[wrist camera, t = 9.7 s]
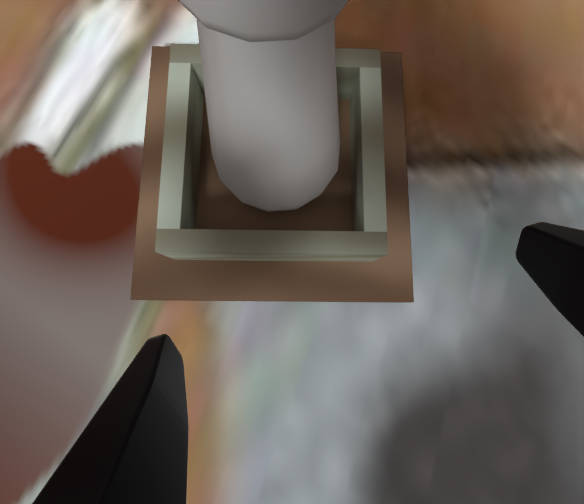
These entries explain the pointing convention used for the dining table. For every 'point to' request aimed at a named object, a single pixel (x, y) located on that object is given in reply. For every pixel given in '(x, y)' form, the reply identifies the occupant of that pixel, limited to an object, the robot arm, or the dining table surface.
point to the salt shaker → (271, 96)
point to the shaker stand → (279, 224)
